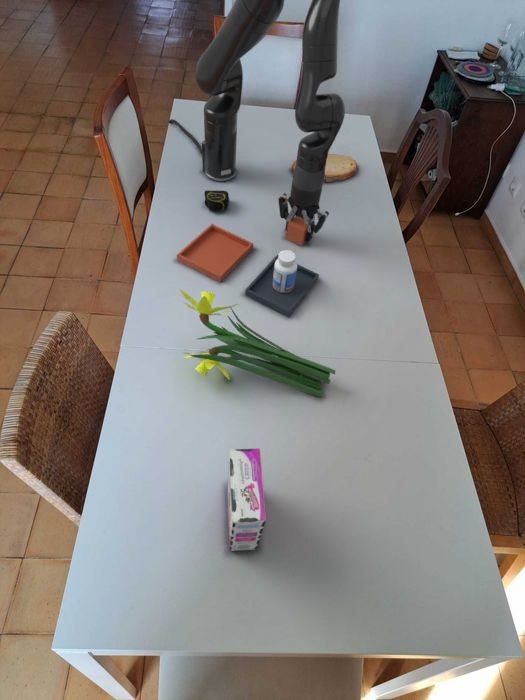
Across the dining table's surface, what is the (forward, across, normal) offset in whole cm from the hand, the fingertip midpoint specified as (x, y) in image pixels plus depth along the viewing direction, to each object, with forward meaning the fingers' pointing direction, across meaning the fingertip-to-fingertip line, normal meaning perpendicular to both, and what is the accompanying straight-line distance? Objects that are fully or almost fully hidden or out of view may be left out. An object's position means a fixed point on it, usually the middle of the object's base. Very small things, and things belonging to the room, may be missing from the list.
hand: (298, 236), depth 124 cm
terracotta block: (0, 0, 0) cm, 0 cm away
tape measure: (+1, +26, +2) cm, 26 cm away
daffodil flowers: (+1, -13, +43) cm, 45 cm away
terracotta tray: (0, +14, +19) cm, 24 cm away
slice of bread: (+1, +9, -34) cm, 35 cm away
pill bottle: (0, -6, +19) cm, 20 cm away
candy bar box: (+1, -28, +71) cm, 76 cm away
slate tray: (0, -6, +19) cm, 20 cm away
